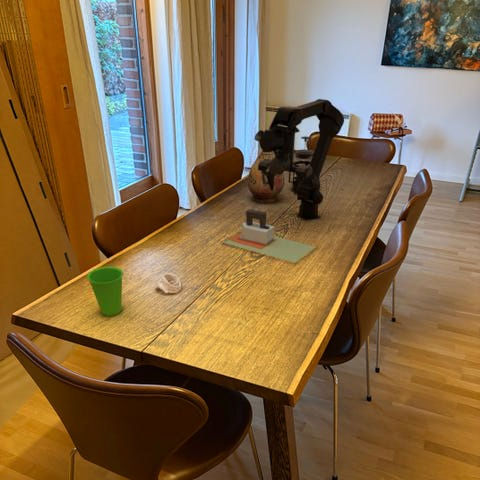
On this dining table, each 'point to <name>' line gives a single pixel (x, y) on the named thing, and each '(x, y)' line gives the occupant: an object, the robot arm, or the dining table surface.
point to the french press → (301, 155)
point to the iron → (256, 229)
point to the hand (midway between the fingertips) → (283, 192)
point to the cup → (107, 289)
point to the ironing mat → (276, 248)
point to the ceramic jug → (264, 178)
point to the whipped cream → (166, 285)
